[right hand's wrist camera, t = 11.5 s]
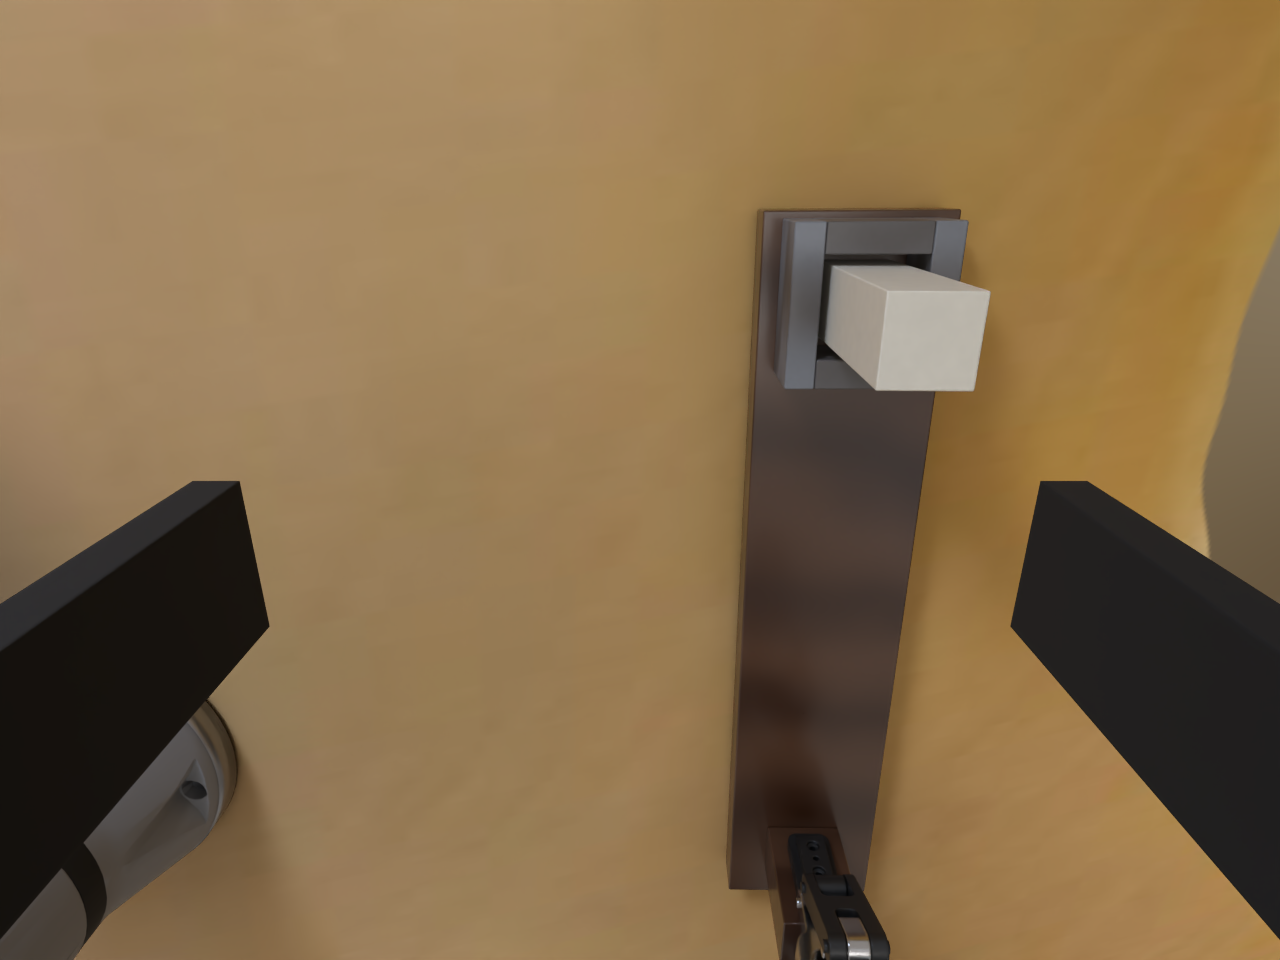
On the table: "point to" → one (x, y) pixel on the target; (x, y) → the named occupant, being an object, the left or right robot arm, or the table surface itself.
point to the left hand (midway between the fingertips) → (804, 863)
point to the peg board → (821, 552)
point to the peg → (903, 325)
